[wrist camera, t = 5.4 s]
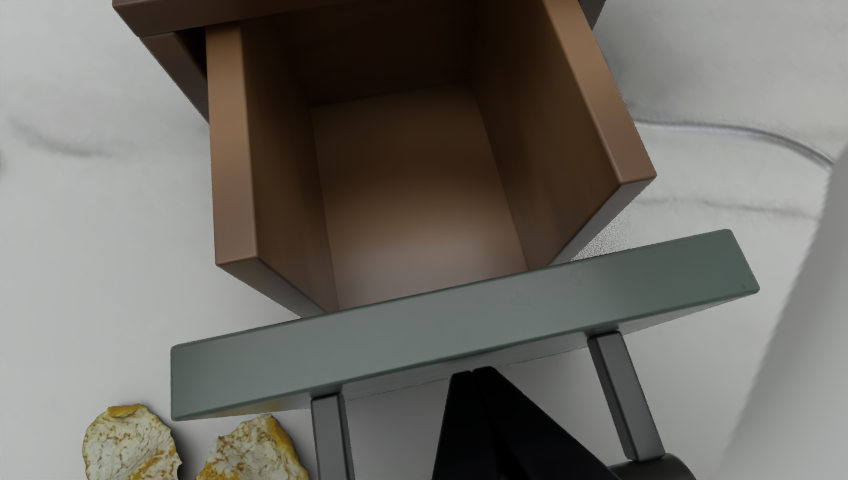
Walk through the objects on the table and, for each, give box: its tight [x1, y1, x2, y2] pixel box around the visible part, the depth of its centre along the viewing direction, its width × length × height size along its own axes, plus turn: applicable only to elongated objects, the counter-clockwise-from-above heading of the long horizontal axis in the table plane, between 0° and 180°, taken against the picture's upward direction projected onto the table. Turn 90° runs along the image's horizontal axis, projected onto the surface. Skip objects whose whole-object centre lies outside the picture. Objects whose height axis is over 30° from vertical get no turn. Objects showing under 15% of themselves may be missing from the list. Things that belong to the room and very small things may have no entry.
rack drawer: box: [171, 0, 760, 480], centre depth 12 cm, size 16×10×9 cm, turn 12°
